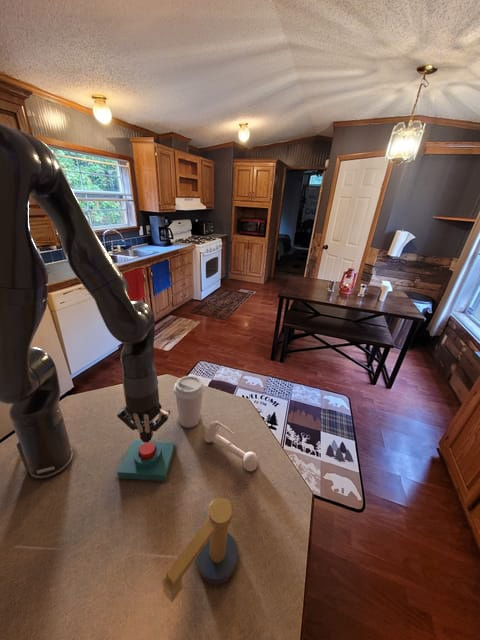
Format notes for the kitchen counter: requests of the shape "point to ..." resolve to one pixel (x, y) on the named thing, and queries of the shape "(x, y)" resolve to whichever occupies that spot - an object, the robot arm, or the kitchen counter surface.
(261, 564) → the kitchen counter surface
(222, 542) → the tap base
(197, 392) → the coffee cup
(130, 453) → the control block
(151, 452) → the button
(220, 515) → the spout
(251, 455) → the faucet
